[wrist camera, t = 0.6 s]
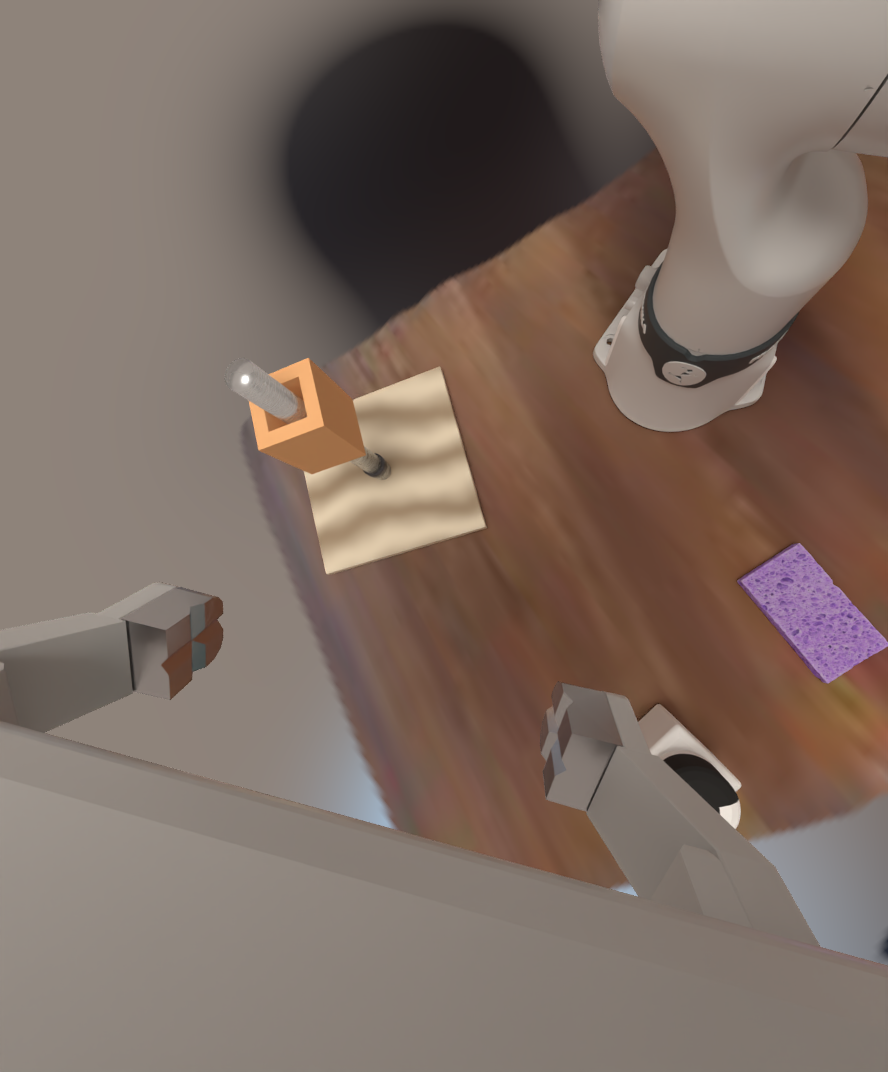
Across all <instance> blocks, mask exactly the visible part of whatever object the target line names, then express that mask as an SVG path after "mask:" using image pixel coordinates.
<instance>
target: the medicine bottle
mask: <svg viewBox="0 0 888 1072" xmlns="http://www.w3.org/2000/svg"><path fill="white" fill-rule="evenodd" d="M638 724H639V726H640V728H641V731H642V733H643V736H644V738H645V741H646V743H647V745H648V748H649V750H650V753H651V754H652V755H655V756H659V757H660V758H661V759H662V760H663V761H664V762H665V763H666V764H667V765H668V766H669V767H670V768H671V769H672V770H673V771H675V772H676V773H677V774H678V775H679V776H680V777H681V778H682V779H683V780H684V781H685V782H686V783H687V784H688V785H689V786H690V787H691V788H692V789H693V790H695V791H696V792H697V793H698V794H699V795H700V796H701V797H702V798H703V799H704V800H705V801H706V802H707V803H708V804H709V805H710V806H711V807H712V808H714V809H715V810H716V811H717V812H718V813H719V814H720V815H721V816H722V817H723V818H724V819H725V820H726V821H727V822H728V823H729V824H730V825H731V826H733V827H734V828H735V829H736V828H737V826H738V823H739V820H740V814H741V809H740V803H739V799H738V796H737V794H736V791H737V790H738V789H739V788H740V787H741V783H740V781H739V780H738V779H737V778H736V777H735V776H734V775H733V774H732V773H731V772H730V771H729V770H728V769H727V768H726V767H725V766H724V765H723V764H722V763H721V762H720V761H719V760H718V759H717V758H716V756H715V755H714V754H713V753H712V752H711V751H710V750H708V749H707V748H706V747H705V746H704V745H703V744H702V743H701V742H700V741H699V740H698V739H697V738H696V737H695V736H694V735H693V734H692V733H691V732H690V731H688V730H687V729H686V728H685V727H684V726H683V725H682V724H681V723H680V722H679V721H678V720H677V719H676V718H675V717H674V716H673V715H672V714H671V713H669V712H668V711H667V710H666V709H665V708H664V707H663V706H662V705H661V704H657V705H656V706H655V707H653V708H652V709H651V710H650V711H649V712H648V713H647V714H646V715H645V716H644V717H643V718H642V719H641V720H640V721H639V722H638Z"/></svg>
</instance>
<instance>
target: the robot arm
mask: <svg viewBox="0 0 888 1072" xmlns="http://www.w3.org/2000/svg"><path fill="white" fill-rule="evenodd" d="M598 27H599V41H600V48H601V54H602V60H603V65H604V69H605V72H606V76H607V79H608V81H609V84H610V87H611V89H612V92H613V94H614V96H615V97H616V98H617V99H618V100H619V101H620V102H621V103H622V104H623V105H624V106H625V107H626V108H627V109H628V110H629V111H630V112H631V113H632V114H633V115H634V116H635V117H636V118H637V120H638V121H639V122H640V123H641V125H642V126H643V127H644V128H645V129H646V131H647V132H648V134H649V135H650V137H651V139H652V140H653V142H654V143H655V145H656V147H657V149H658V151H659V153H660V155H661V157H662V159H663V161H664V164H665V166H666V169H667V171H668V174H669V177H670V180H671V184H672V187H673V192H674V196H675V204H676V218H675V223H674V227H673V231H672V235H671V239H670V242H669V246H668V249H665V250H664V251H662V252H661V254H660V255H659V256H658V258H657V259H656V260H655V262H654V263H653V265H652V266H649V265H648V266H645V267H644V269H643V270H642V272H641V274H640V276H639V278H638V280H637V282H636V284H635V287H636V289H635V290H634V292H633V293H632V294H631V296H630V297H629V299H628V300H627V302H626V303H625V304H624V306H623V307H622V309H621V310H620V312H619V313H618V314H617V316H616V317H615V319H614V320H613V322H612V323H611V324H610V326H609V327H608V329H607V330H606V331H605V333H604V334H603V336H602V337H601V339H600V340H599V341H598V343H597V344H596V346H595V348H594V351H593V357H594V359H595V361H596V363H597V364H598V365H599V367H600V368H601V369H602V370H603V371H604V373H605V375H606V379H607V383H608V388H609V392H610V394H611V397H612V399H613V401H614V403H615V404H616V406H617V407H618V408H619V410H620V411H621V412H622V413H623V414H624V415H625V416H626V417H628V418H629V419H630V420H632V421H633V422H635V423H637V424H639V425H641V426H643V427H646V428H649V429H652V430H657V431H665V432H677V431H684V430H689V429H693V428H696V427H699V426H701V425H704V424H706V423H708V422H710V421H711V420H713V419H714V418H716V417H718V416H719V415H721V414H723V413H724V412H726V411H729V410H734V409H739V408H743V407H747V406H750V405H752V404H754V403H755V402H756V401H757V400H758V399H759V398H760V397H761V395H762V393H763V388H764V384H765V379H766V374H767V372H768V371H769V370H770V369H771V367H772V366H773V365H774V364H775V362H776V360H777V357H776V356H775V353H776V349H777V343H778V342H779V341H780V340H781V339H782V338H783V336H784V335H785V333H786V332H787V331H788V329H789V328H790V326H791V325H792V324H793V322H794V321H795V319H796V317H797V315H798V313H799V311H800V310H801V308H802V307H803V306H804V305H805V304H806V303H807V302H808V301H809V300H810V299H811V298H812V297H813V296H814V295H815V294H816V293H817V292H818V291H819V290H820V289H821V288H822V287H823V286H824V285H825V284H826V283H827V282H828V281H829V280H830V279H831V278H832V277H833V276H834V275H835V273H836V272H837V271H838V270H839V269H840V268H841V267H842V266H843V265H844V263H845V262H846V261H847V259H848V258H849V257H850V255H851V253H852V252H853V250H854V248H855V247H856V245H857V243H858V241H859V239H860V237H861V234H862V231H863V229H864V226H865V222H866V217H867V211H868V196H867V185H866V180H865V173H864V169H863V166H862V163H861V161H860V159H859V157H858V155H857V154H856V153H861V154H868V155H875V156H882V157H888V0H598ZM609 341H610V342H612V344H611V345H608V344H607V342H609ZM222 614H223V602H222V600H220V598H219V597H216V596H212V595H208V594H205V593H201V592H197V591H194V590H190V589H186V588H182V587H178V586H175V585H171V584H167V583H163V582H161V583H158V582H157V583H153V584H151V585H149V586H147V587H145V588H144V589H142V590H140V591H138V592H136V593H134V594H132V595H131V596H129V597H127V598H125V599H123V600H122V601H119V602H118V603H116V604H114V605H112V606H110V607H108V608H107V609H105V610H103V611H101V612H99V613H97V614H96V613H92V612H89V613H84V614H79V615H73V616H68V617H63V618H59V619H53V620H48V621H44V622H39V623H33V624H28V625H24V626H18V627H13V628H8V629H3V630H0V1072H888V966H887V965H883V964H880V963H876V962H873V961H869V960H865V959H862V958H858V957H854V956H851V955H847V954H843V953H840V952H836V951H833V950H829V949H826V948H822V947H820V945H819V944H818V941H817V940H816V938H815V936H814V935H813V933H812V931H811V929H810V928H809V926H808V924H807V922H806V920H805V919H804V917H803V915H802V913H801V912H800V910H799V908H798V906H797V905H796V903H795V901H794V899H793V897H792V896H791V894H790V892H789V890H788V889H787V887H786V885H785V883H784V882H783V880H782V878H781V876H780V875H779V873H778V871H777V869H776V868H775V867H774V865H772V864H771V863H770V862H769V861H768V860H767V859H766V858H765V857H764V856H763V855H762V854H761V853H760V852H759V851H758V850H757V849H756V848H755V847H754V846H753V845H751V844H750V843H749V842H748V841H747V840H746V839H745V838H744V837H743V836H742V835H741V834H740V833H739V832H738V831H737V830H736V829H735V828H734V827H733V826H731V825H730V824H729V823H728V822H727V821H726V820H725V819H724V818H723V817H722V816H721V815H720V814H719V813H718V812H717V811H716V810H715V809H714V808H712V807H711V806H710V805H709V804H708V803H707V802H706V801H705V800H704V799H703V798H702V797H701V796H700V795H699V794H698V793H697V792H696V791H695V790H693V789H692V788H691V787H690V786H689V785H688V784H687V783H686V782H685V781H684V780H683V779H682V778H681V777H680V776H679V775H678V774H677V773H676V772H675V771H673V770H672V769H671V768H670V767H669V766H668V765H667V764H666V763H665V762H664V761H663V760H662V759H661V758H660V757H659V756H655V755H652V754H651V753H650V750H649V748H648V745H647V743H646V741H645V738H644V736H643V733H642V731H641V728H640V726H639V724H638V721H637V719H636V716H635V714H634V712H633V709H632V707H631V704H630V702H629V700H628V699H627V698H626V697H625V696H623V695H618V694H614V693H609V692H604V691H602V692H601V691H597V690H593V689H589V688H584V687H580V686H576V685H572V684H568V683H563V682H559V681H558V682H557V684H556V685H555V687H554V690H553V693H552V701H553V706H552V707H551V708H549V709H547V710H546V712H545V715H544V719H543V722H542V728H541V734H540V748H541V754H542V756H543V757H544V758H545V760H546V764H545V767H544V769H543V777H544V786H545V795H546V800H549V801H552V802H556V803H559V804H562V805H566V806H569V807H573V808H576V809H579V810H583V811H586V812H587V813H586V814H587V816H588V817H589V819H590V820H591V822H592V824H593V825H594V827H595V828H596V830H597V831H598V833H599V835H600V836H601V838H602V839H603V841H604V843H605V844H606V846H607V847H608V849H609V851H610V852H611V854H612V855H613V857H614V858H615V860H616V862H617V863H618V865H619V866H620V868H621V870H622V871H623V873H624V874H625V876H626V878H627V879H628V881H629V882H630V884H631V885H632V887H633V889H634V890H635V892H636V893H637V895H638V897H637V896H634V895H630V894H626V893H623V892H619V891H615V890H612V889H608V888H605V887H601V886H597V885H594V884H590V883H586V882H583V881H579V880H576V879H572V878H568V877H565V876H561V875H557V874H554V873H550V872H546V871H543V870H539V869H535V868H532V867H528V866H525V865H521V864H517V863H514V862H510V861H506V860H503V859H499V858H495V857H492V856H488V855H485V854H481V853H477V852H474V851H470V850H467V849H463V848H459V847H456V846H452V845H449V844H445V843H441V842H438V841H434V840H431V839H427V838H423V837H420V836H416V835H413V834H409V833H405V832H402V831H398V830H395V829H391V828H387V827H384V826H380V825H376V824H372V823H369V822H365V821H362V820H358V819H354V818H351V817H347V816H344V815H340V814H337V813H333V812H330V811H326V810H322V809H319V808H315V807H311V806H308V805H304V804H300V803H296V802H293V801H289V800H286V799H282V798H279V797H275V796H271V795H268V794H264V793H260V792H257V791H253V790H249V789H246V788H242V787H239V786H235V785H232V784H228V783H224V782H220V781H217V780H213V779H210V778H206V777H203V776H199V775H195V774H192V773H188V772H184V771H181V770H177V769H174V768H170V767H166V766H162V765H159V764H155V763H152V762H148V761H144V760H141V759H137V758H133V757H130V756H126V755H122V754H119V753H116V752H112V751H108V750H105V749H101V748H97V747H94V746H90V745H86V744H83V743H79V742H76V741H72V740H68V739H64V738H61V737H57V736H54V735H50V734H47V733H45V732H47V731H49V730H52V729H54V728H56V727H58V726H61V725H63V724H65V723H67V722H70V721H72V720H74V719H76V718H79V717H81V716H83V715H85V714H87V713H90V712H92V711H94V710H97V709H99V708H101V707H103V706H105V705H108V704H110V703H112V702H115V701H117V700H119V699H121V698H124V697H126V696H128V695H130V694H132V693H133V692H138V693H142V694H146V695H151V696H155V697H160V698H164V699H168V700H171V699H172V698H173V697H174V696H175V695H176V694H177V693H178V692H179V691H181V690H182V689H183V688H184V687H185V686H186V685H187V684H188V683H189V682H190V681H191V680H192V674H193V672H194V671H197V670H199V669H202V668H205V667H206V666H208V665H209V664H210V662H212V660H214V658H215V657H216V655H217V653H218V651H219V650H220V648H221V645H222V641H223V628H222V627H221V625H220V623H219V622H218V620H217V619H218V618H219V617H220V616H221V615H222Z"/></svg>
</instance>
